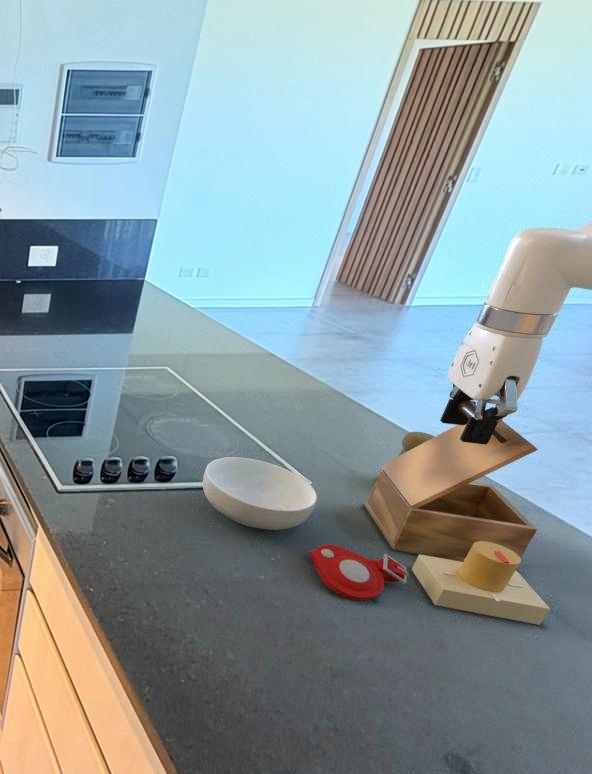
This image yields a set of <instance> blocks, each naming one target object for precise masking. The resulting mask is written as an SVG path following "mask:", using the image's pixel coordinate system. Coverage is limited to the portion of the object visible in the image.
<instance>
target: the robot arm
mask: <svg viewBox="0 0 592 774" xmlns="http://www.w3.org/2000/svg"><path fill="white" fill-rule="evenodd" d="M573 288H577V289H583V290H589V291H592V221H591V222H588V223H586V224H584V225H581V226H579V227H577V228H574V229H567V228H557V227H529V228H524V229H522V230H520V231H518V232H516V233H515V235H514V236H513V237H512V238H511V241H510V242H509V244H508V247H507V249H506V252H505V253H504V257H503V259H502V261H501V263H500V265H499V268H498V270H497V273H496V275H495V277H494V279H493V282H492V284H491V286H490V289H489V291H488V293H487V296H486V298H485V300H484V302H483V305H482V307H481V309H480V311H479V314H478V316H477V318H476V321H475V322H474V323H473V325H472V326H471V328H470V329H469V330H468V332H467V334H466V335H465V337H464V339H463V341H462V343H461V344H460V346H459V348H458V350H457V351H456V354H455V356H454V358H453V359H452V362H451V364H450V366H449V368H448V371H447V373H446V376H447V379H448V380H449V382H450V383H452V389H451V390H450V392H449V394H448V395H449V399H448V401H447V403H446V406H445V408H444V409H443V413H442V415H441V417H440V422H441V423H442V424H447V425H454V426H456V425H466V426H465V428H464V431H463V433H462V435H461V437H460V440H461V441H462V442H467V443H476V444H487V443H488V442H489V440H490V438H491V436H492V434H493V432H494V430H495V428H496V426H497V424H498V422H501V421H503V419H505V418H506V417H507V416H508V415H512V414H514V413H516V412H517V411H518V401H519V399H520V398H521V396H522V395H523V393H524V391H525V389H526V387H527V385H528V383H529V381H530V378H531V376H532V374H533V371H534V369H535V366H536V364H537V361H538V358H539V355H540V353H541V349H542V346H543V343H544V338H546V337H547V336H549V334H550V331H551V330H552V327H553V325H554V323H555V321H556V319H557V317H558V316H559V315H558V314H559V312H560V311H561V309H562V306H563V305H564V303H565V301H566V299H567V296H568V295H569V292H570V290H571V289H573ZM494 396H495V397H497V398H498V399H494V398H493V397H494ZM463 401H471V402H473V403H474V404H475V405H477V406H476V410H475V415H474V417H470V418H469V419H468V418H467V417H466V416H465V415H463V414H462V413H461V412H460V411H459V410H458V405H459V404H460V403H461V402H463ZM487 404H492V405H495V407H489V408H487Z"/></svg>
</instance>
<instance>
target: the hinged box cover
mask: <svg viewBox="0 0 592 774" xmlns="http://www.w3.org/2000/svg"><path fill="white" fill-rule="evenodd" d="M471 401H472V400H471ZM471 401H463V402H461V403H460V404H459V405H458V410H459V411H460V412H461V413H462V414H463V415H465V416H466V417H467V418H468V419H469V418H470V417H474V415H475V410H476V406H477V404H476V405H475V404H474V403H473V402H471ZM465 426H466V425H454V426H453V427H450V428H449V429H447V430H445V431H443V432H442V433H439V434H438V435H436V436H435V437H434V438H432V439H430V440H428V441H426V442H424V443H423V444H421V445H419V446H417V447H415V448H413V449H411V450H409V451H407V452H406V453H404V454H402V455H400V456H398V455H397V456H396V457H394V458H392V459H390V460H389V461H387V462H385V463H383V464H381V465H380V467H381V469H382V470H384V471H385V472H386V474H387V475H388V476H389V478H390V479H391V480H392V482H393V483H394V484H395V485H396V487H397V488H398V489H399V491H400V492H401V493H402V495H403V496H404V497H405V499H406V500H407V501H408V502H409V504H410V505H411V506H412V507H413V508H414V509H416V508H418V507H420V506H423V505H425V504H427V503H429V502H431V501H433V500H435V499H437V498H439V497H441V496H443V495H445V494H447V493H450V492H452V491H454V490H456V489H458V488H460V487H462V486H464V485H466V484H468V483H470V482H475V481H477V480H479V479H480V478H483V477H486V476H487V475H489V474H491V473H493V472H495V471H497V470H500V469H501V468H503V467H505V466H507V465H510V464H513V463H514V462H516V461H518V460H521V459H522V458H524V457H527V456H529V455H530V454H532V453H534V452H537V451H538V448H537V447H536V446H535V445H534V444H533V443H531V442H530V441H529V440H527V438H525V437H524V436H523V435H521V434H520V433H519V432H517V431H516V430H515V429H513V428H512V427H511V426H510V425H509V424H508V423H506V422H505V421H504V420H502V421H501V422H498V424H497V426H496V428H495V430H494V432H493V434H492V436H491V438H490V440H489V442H488V443H487V444H476V443H467V442H462V441H461V440H460V437H461V435H462V433H463V431H464V428H465Z"/></svg>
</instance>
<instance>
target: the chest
mask: <svg viewBox="0 0 592 774" xmlns="http://www.w3.org/2000/svg"><path fill="white" fill-rule="evenodd" d="M364 507H365V509H366V510H367V512H368V513H369V515H370V516H371V518H372V519H373V521H374V522H375V524H376V526H377V527H378V529H379V530H380V532H381V533H382V535H383V537H384V538H385V540H386V541H387V543H388V544H389V545H390V547H391V549H392V550H393V551H399V552H405V553H410V554H411V553H412V554H417V555H425V556H431V557H437V558H443V559H449V560H455V561H460V562H464V559H465V558H466V556H467V555H468V553H469V551H470V549H471V547H472V545H473V544H474V543H475V542H478V541H486V542H491V543H495V544H498V545H501V546H503V547H506V548H508V549H510V550H511V551H513V552H515V553H516V554H517V555H518V556H519V557H520V559H521V558H522V556H523V555H524V553H525V551H526V550H527V549H528V546H529V544H530V543H531V541H532V539H533V538H534V536H535V535H536V533H537V531H538V529H537V527H535V526H534V524H532V523H531V522H530V521H529V519H527V518H526V517H525V516H524V514H523V513H522V512H520V510H519V509H518V508H516V507H515V506H514V505H513V504H512V502H510V501H509V500H508V499H507V498H506V497H505V496H504V495H503V494H502V493H501V492H500V491H499V490H498V489H497V488H496V487H495V486H494V485H493V484H488V483H487V484H486V483H479V482H474V481H472V482H470V483H468V484H466V485H464V486H462V487H460V488H458V489H456V490H454V491H452V492H450V493H447V494H445V495H443V496H441V497H439V498H437V499H435V500H433V501H431V502H429V503H427V504H425V505H423V506H420V507H418V508H416V509H414V508H413V507H412V506H411V505H410V504H409V502H408V501H407V500H406V499H405V497H404V496H403V495H402V493H401V492H400V491H399V489H398V488H397V487H396V485H395V484H394V483H393V482H392V480H391V479H390V478H389V476H388V475H387V474H386V472H385V471H384V470H383V469H381V470H380V472H379V473H378V476H377V478H376V481H375V483H374V485H373V488H372V489H371V492H370V495H369V496H368V499H367V501H366V503H365V506H364Z"/></svg>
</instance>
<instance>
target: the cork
mask: <svg viewBox="0 0 592 774" xmlns="http://www.w3.org/2000/svg"><path fill="white" fill-rule="evenodd" d="M434 437H436V436H435V435H433V434H430V433H427V432H424V431H423V432H422V431H410V432H407V433H406V434H405V435H404V436H403V438H402V440H401V445H402V447H403V448H402V449H401V450H400V451H399V453H398V455H397V457H398V456H400V455H402V454H404V453H406V452H407V451H409V450H411V449H413V448H415V447H417V446H419V445H421V444H423V443H424V442H426V441H428V440H430V439H432V438H434Z"/></svg>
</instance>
